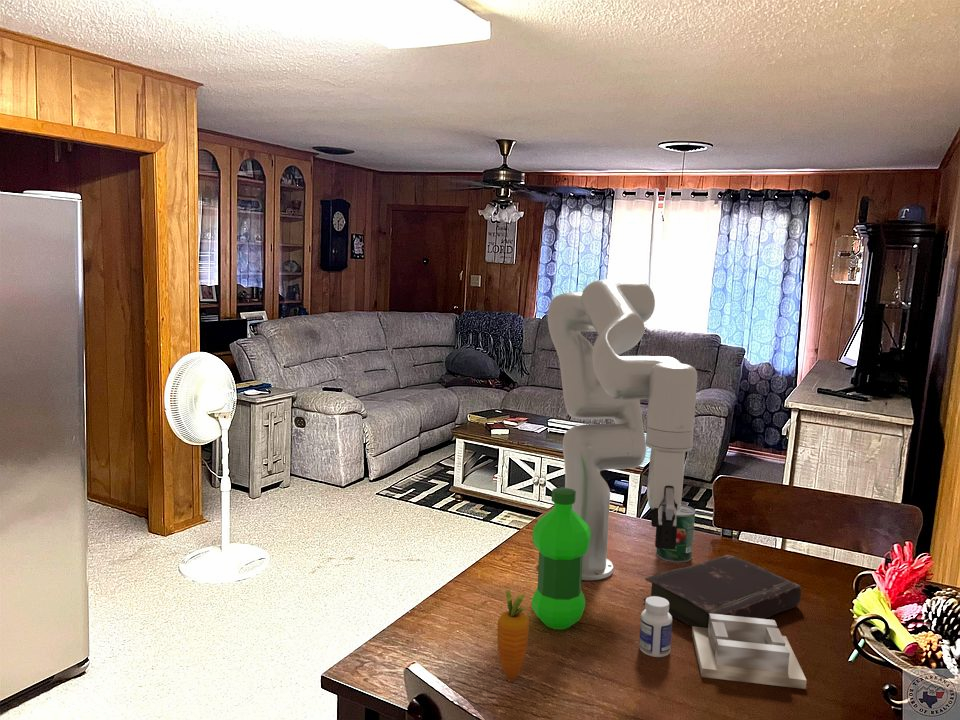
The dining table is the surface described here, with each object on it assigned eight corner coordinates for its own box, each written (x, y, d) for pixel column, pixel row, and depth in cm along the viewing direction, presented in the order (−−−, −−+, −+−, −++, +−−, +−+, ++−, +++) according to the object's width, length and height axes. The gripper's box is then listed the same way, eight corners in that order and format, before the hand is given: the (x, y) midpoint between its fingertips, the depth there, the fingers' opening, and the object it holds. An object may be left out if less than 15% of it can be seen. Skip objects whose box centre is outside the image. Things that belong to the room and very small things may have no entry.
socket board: (701, 676, 121) (703, 648, 121) (691, 634, 135) (693, 607, 134) (805, 689, 119) (808, 659, 118) (785, 644, 132) (787, 617, 132)
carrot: (493, 673, 120) (496, 585, 118) (524, 673, 121) (528, 585, 119) (497, 691, 116) (500, 599, 113) (529, 691, 116) (533, 599, 114)
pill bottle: (667, 643, 132) (671, 595, 130) (672, 659, 126) (676, 609, 125) (637, 640, 132) (640, 593, 131) (640, 656, 127) (643, 607, 126)
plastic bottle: (589, 614, 141) (596, 486, 138) (579, 641, 131) (586, 503, 128) (537, 605, 144) (543, 479, 141) (524, 631, 134) (529, 496, 131)
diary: (801, 609, 146) (803, 585, 145) (718, 643, 132) (720, 616, 131) (722, 572, 161) (724, 550, 161) (640, 600, 147) (642, 576, 147)
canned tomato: (656, 560, 167) (659, 513, 166) (656, 547, 175) (659, 501, 173) (692, 564, 165) (696, 516, 164) (691, 551, 173) (694, 505, 171)
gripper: (643, 425, 133) (637, 517, 135) (649, 449, 116) (642, 555, 118) (687, 427, 132) (680, 521, 134) (699, 453, 115) (691, 559, 117)
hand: (662, 537), depth 126 cm, fingers open, 9 cm apart
